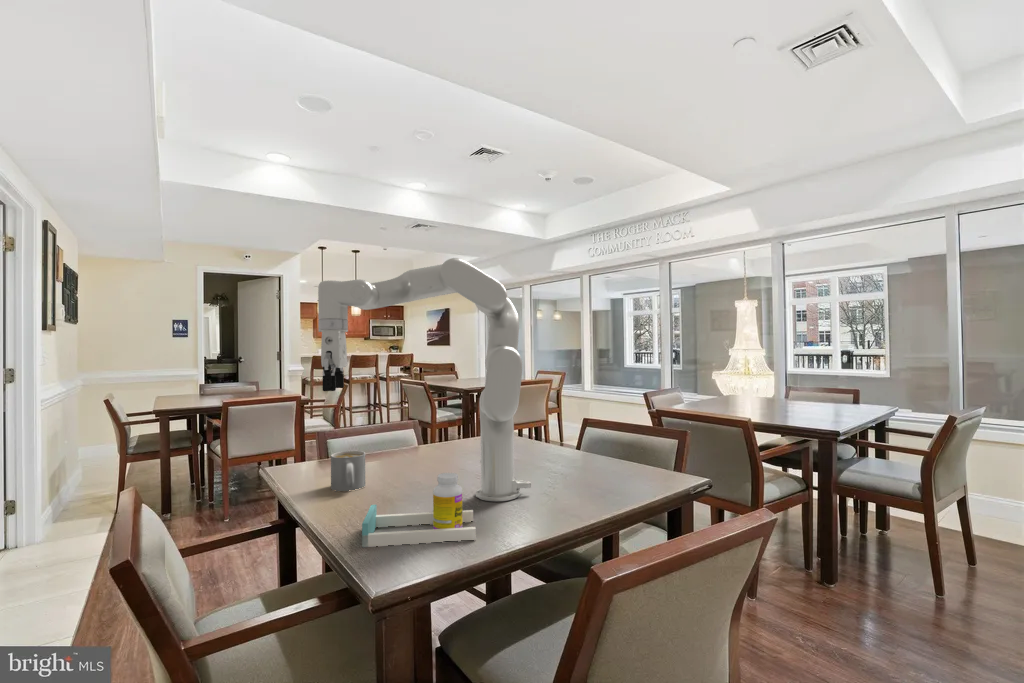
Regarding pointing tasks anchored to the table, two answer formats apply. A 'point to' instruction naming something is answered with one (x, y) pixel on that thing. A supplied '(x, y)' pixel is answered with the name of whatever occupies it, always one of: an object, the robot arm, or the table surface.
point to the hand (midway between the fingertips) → (333, 389)
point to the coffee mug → (347, 470)
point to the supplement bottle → (447, 502)
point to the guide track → (411, 536)
